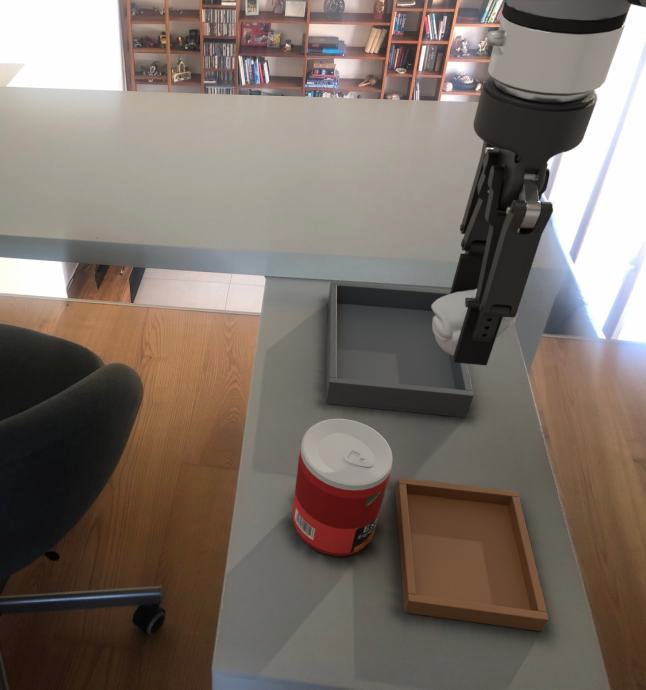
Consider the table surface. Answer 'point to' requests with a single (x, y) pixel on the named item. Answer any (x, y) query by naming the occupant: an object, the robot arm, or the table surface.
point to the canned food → (340, 485)
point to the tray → (467, 555)
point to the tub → (391, 352)
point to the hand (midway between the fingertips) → (464, 336)
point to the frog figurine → (455, 319)
